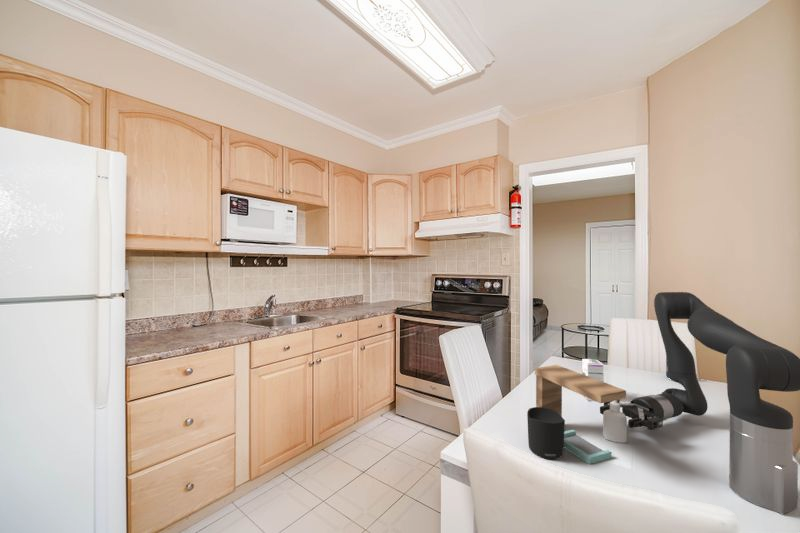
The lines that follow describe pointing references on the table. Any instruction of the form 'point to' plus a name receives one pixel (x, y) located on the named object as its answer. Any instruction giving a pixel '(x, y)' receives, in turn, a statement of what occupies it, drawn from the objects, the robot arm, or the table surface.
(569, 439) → the mint green tray
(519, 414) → the table surface
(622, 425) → the eye dropper bottle
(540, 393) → the shelf
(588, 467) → the table surface
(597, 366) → the syrup box
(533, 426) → the pen holder
